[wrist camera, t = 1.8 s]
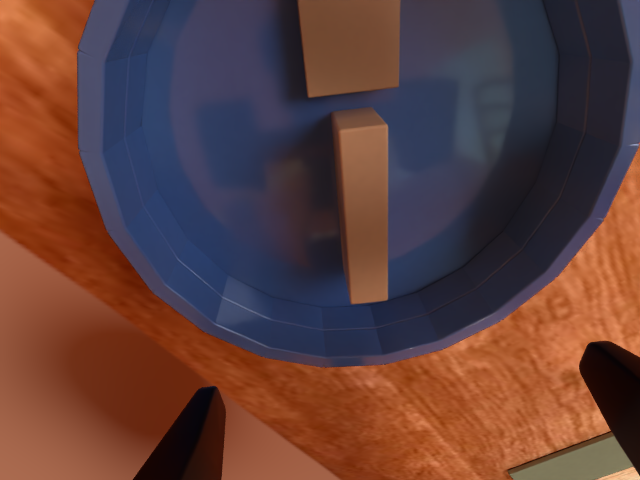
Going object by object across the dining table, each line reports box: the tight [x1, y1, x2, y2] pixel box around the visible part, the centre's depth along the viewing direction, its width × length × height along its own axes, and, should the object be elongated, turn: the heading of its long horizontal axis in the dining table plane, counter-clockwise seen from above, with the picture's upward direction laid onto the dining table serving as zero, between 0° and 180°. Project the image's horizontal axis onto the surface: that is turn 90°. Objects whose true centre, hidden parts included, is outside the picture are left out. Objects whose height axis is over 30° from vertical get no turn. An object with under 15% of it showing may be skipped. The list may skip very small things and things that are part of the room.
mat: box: [508, 432, 633, 480], centre depth 26 cm, size 13×6×1 cm, turn 126°
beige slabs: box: [297, 0, 400, 304], centre depth 11 cm, size 11×3×2 cm, turn 6°
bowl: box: [77, 0, 640, 368], centre depth 12 cm, size 15×15×4 cm
